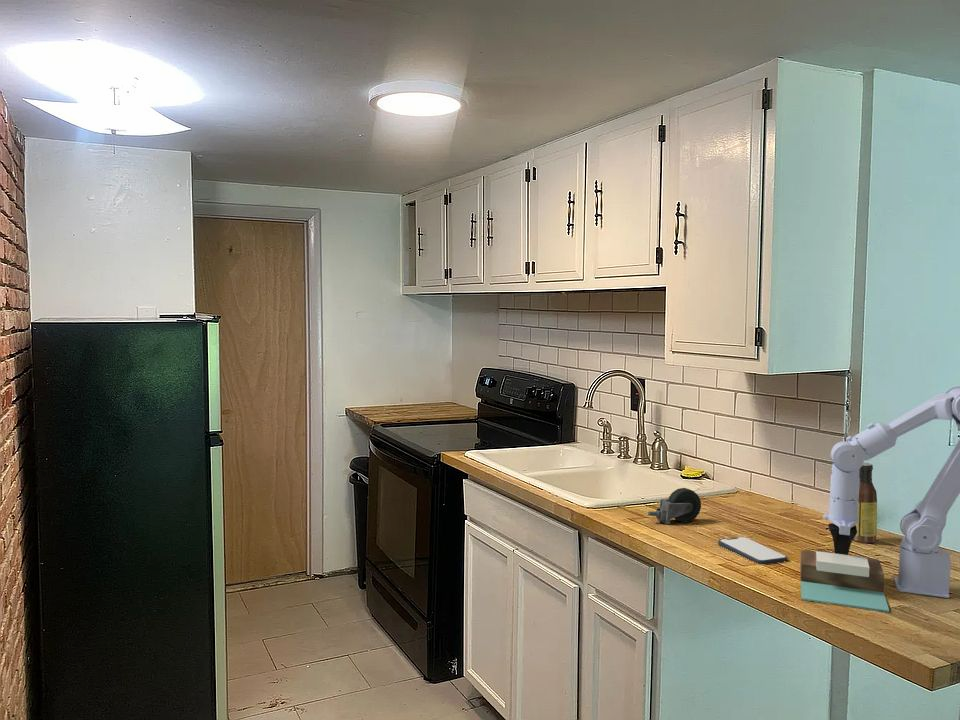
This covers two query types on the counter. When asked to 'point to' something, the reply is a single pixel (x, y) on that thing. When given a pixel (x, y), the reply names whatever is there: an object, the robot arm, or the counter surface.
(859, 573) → the tile
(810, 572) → the block
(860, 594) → the mat
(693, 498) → the caster wheel
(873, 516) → the sauce bottle
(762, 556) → the phone case
